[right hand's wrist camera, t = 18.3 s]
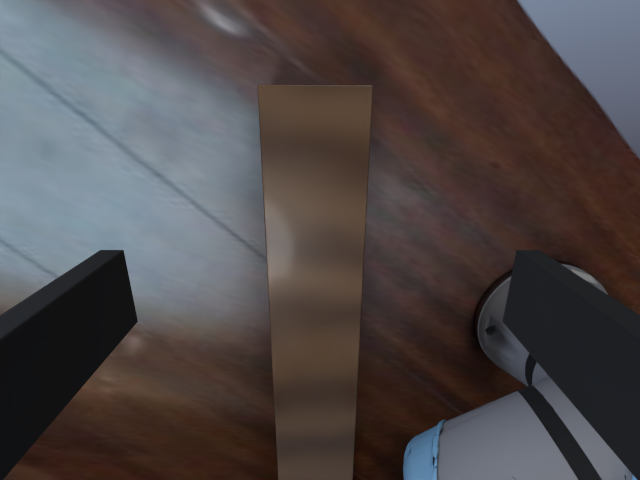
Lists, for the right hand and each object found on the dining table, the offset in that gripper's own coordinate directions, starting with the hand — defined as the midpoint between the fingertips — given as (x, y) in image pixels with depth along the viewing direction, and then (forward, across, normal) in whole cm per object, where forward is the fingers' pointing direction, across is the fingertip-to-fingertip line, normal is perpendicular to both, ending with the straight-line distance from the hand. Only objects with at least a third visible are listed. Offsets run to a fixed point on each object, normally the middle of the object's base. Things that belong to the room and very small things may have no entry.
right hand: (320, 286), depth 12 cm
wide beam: (+28, -1, -23) cm, 37 cm away
